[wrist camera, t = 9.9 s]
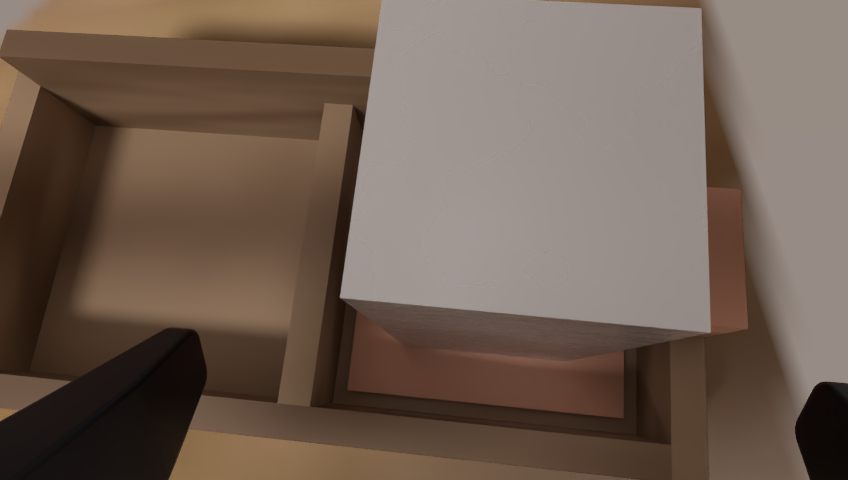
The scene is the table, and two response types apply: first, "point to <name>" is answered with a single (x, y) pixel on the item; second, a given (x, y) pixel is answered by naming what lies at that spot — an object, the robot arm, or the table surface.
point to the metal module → (532, 178)
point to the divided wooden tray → (285, 266)
